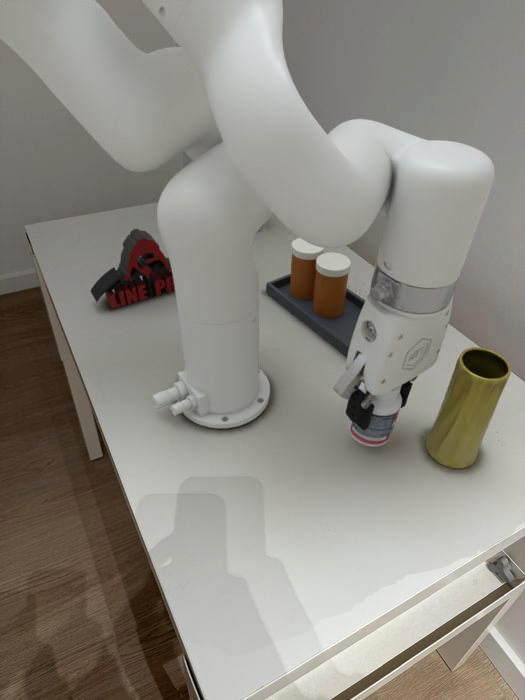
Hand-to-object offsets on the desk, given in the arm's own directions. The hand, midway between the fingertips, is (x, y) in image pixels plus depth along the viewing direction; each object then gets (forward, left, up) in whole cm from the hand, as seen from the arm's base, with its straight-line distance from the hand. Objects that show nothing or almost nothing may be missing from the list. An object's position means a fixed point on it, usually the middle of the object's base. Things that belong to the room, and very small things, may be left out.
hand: (375, 409), depth 60 cm
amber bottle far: (+14, +29, -5) cm, 33 cm away
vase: (+7, -7, -6) cm, 12 cm away
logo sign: (-8, +45, -6) cm, 46 cm away
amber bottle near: (+14, +23, -5) cm, 27 cm away
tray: (+14, +22, -6) cm, 27 cm away
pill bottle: (0, 0, -4) cm, 4 cm away
